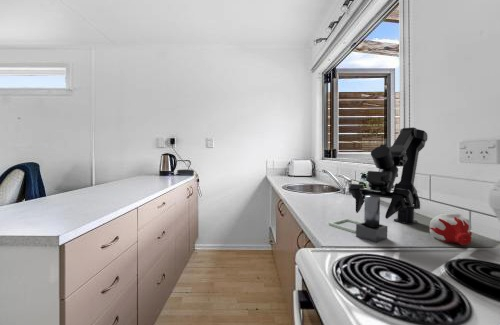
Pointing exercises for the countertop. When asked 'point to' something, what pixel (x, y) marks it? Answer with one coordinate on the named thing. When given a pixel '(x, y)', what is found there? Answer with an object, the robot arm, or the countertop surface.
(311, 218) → the countertop surface
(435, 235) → the white red flame ovoid
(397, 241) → the countertop surface
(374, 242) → the base
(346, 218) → the tray
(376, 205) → the grey cylinder in socket
